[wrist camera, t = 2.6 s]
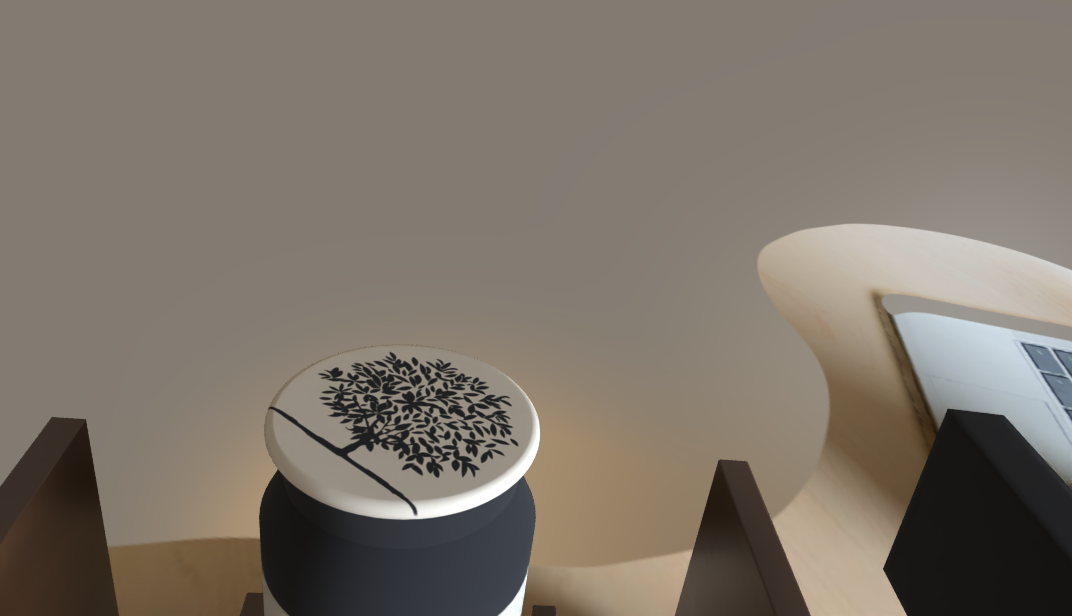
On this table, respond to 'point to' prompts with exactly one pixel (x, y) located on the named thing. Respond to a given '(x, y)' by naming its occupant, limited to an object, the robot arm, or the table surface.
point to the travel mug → (398, 487)
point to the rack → (91, 608)
